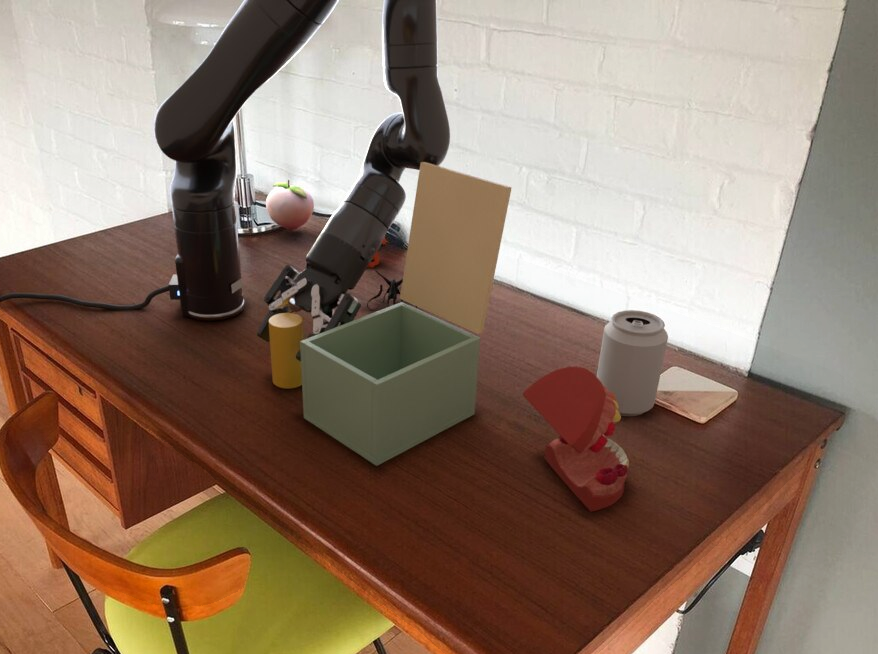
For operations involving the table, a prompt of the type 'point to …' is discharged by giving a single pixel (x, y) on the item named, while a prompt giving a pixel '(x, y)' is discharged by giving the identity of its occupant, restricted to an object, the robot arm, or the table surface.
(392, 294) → the creature
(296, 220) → the decorative fruit
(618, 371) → the can
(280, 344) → the round shape
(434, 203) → the lid
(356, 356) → the green open box
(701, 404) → the table surface
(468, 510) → the table surface
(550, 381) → the anatomical model
